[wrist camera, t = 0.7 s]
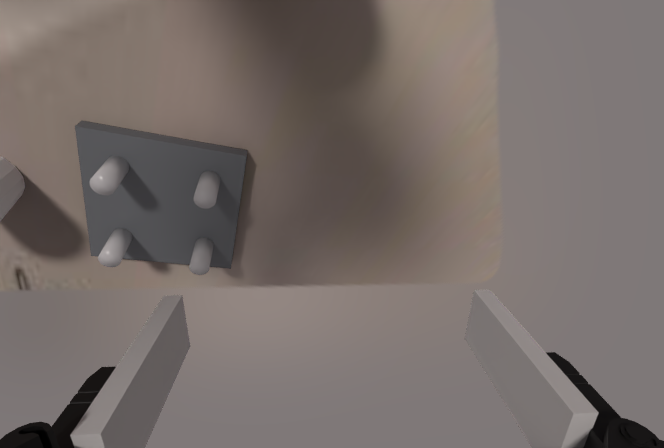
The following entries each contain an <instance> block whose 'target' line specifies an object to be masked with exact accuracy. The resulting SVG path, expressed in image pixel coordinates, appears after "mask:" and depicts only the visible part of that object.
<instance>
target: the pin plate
mask: <svg viewBox="0 0 664 448" xmlns="http://www.w3.org/2000/svg"><path fill="white" fill-rule="evenodd" d="M75 130H76V138H77V146H78V154H79V162H80V170H81V178H82V186H83V194H84V202H85V210H86V218H87V226H88V234H89V242H90V250H91V256H98V260H99V262H100V263H101V264H102V265H104V266H107V267H116V266H118V265H119V264H120V262H121V260H122V259H133V260H144V261H155V262H166V263H177V264H188V265H190V266H189V269H190V271H191V272H193V273H194V274H198V275H202V274H205V273H207V272H208V271H209V267H221V268H231V263H232V256H233V249H234V242H235V235H236V228H237V221H238V214H239V207H240V200H241V193H242V186H243V179H244V172H245V165H246V158H247V150H243V149H237V148H232V147H226V146H221V145H215V144H209V143H204V142H198V141H193V140H187V139H182V138H176V137H170V136H165V135H159V134H154V133H148V132H143V131H137V130H131V129H126V128H120V127H115V126H109V125H103V124H98V123H92V122H87V121H81V122H80V123H78V124H77V125H76V126H75Z"/></svg>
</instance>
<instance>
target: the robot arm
mask: <svg viewBox="0 0 664 448" xmlns="http://www.w3.org/2000/svg"><path fill="white" fill-rule="evenodd" d="M465 340H466V341H467V343H468V345H469V346H470V348H471V350H472V351H473V353H474V355H475V356H476V358H477V359H478V361H479V363H480V364H481V366H482V368H483V369H484V371H485V372H486V374H487V375H488V377H489V379H490V381H491V382H492V384H493V385H494V387H495V388H496V390H497V392H498V393H499V395H500V397H501V398H502V400H503V402H504V403H505V405H506V407H507V408H508V410H509V411H510V413H511V415H512V416H513V418H514V419H515V421H516V423H517V424H518V426H519V428H520V429H521V431H522V433H523V434H524V436H525V437H526V439H527V441H528V442H529V444H530V445H531V447H532V448H664V441H662V440H659V439H658V438H657V437H656V435H655V434H653V433H652V432H651V431H649V430H648V429H647V428H645V427H644V426H642V425H640V424H638V423H636V422H634V421H631V420H628V419H624V418H621V417H620V416H619V415H618V414H617V413H616V412H615V411H614V410H613V409H612V407H611V406H610V405H609V404H608V403H607V402H606V401H605V400H604V399H603V398H602V397H601V396H600V395H599V394H598V392H597V391H596V390H595V389H594V388H593V387H592V386H591V385H589V384H588V382H587V381H586V380H585V379H584V378H583V376H582V375H579V372H578V371H577V370H576V369H575V368H574V367H573V366H572V365H571V364H570V363H569V362H568V361H567V360H565V359H564V358H562V357H561V356H559V355H558V354H556V353H555V352H553V353H546V352H545V351H544V350H543V349H542V348H541V347H540V346H539V345H538V344H537V342H536V341H535V340H534V339H533V338H532V337H531V335H530V334H529V333H528V332H527V331H526V330H525V329H524V328H523V326H521V324H520V323H519V322H518V321H517V320H516V319H515V317H514V316H513V315H512V314H511V313H510V312H509V311H508V309H507V308H506V307H505V306H504V305H503V304H502V303H501V302H500V300H499V299H498V298H497V297H496V296H495V295H494V294H493V292H492V291H491V290H474V293H473V298H472V303H471V309H470V314H469V319H468V324H467V329H466V335H465ZM189 347H190V342H189V336H188V330H187V323H186V318H185V311H184V304H183V297H182V295H173V296H164V297H163V298H162V300H161V301H160V303H159V304H158V306H157V307H156V308H155V310H154V311H153V313H152V314H151V316H150V317H149V319H148V320H147V322H146V323H145V325H144V327H143V328H142V329H141V331H140V332H139V334H138V335H137V337H136V338H135V340H134V341H133V343H132V344H131V346H130V347H129V349H128V350H127V352H126V353H125V355H124V356H123V357H122V359H121V361H120V362H119V364H118V365H117V366H116V367H101V368H100V369H99V370H98V371H96V372H95V373H94V374H93V375H91V376H90V377H89V378H88V379H87V380H86V381H85V383H84V384H83V385H82V387H81V388H80V390H79V391H78V394H76V395H75V396H74V397H73V399H72V400H71V401H70V404H69V405H67V407H66V408H65V410H64V411H63V412H62V414H61V415H60V416H59V418H58V419H57V420H56V422H55V423H54V424H53V426H52V427H51V426H50V425H49V424H48V423H44V422H36V423H29V424H27V425H24V426H21V427H19V428H17V429H15V430H13V431H12V432H10V433H8V434H6V435H5V436H4V437H3V438H2V439H1V440H0V448H145V446H146V444H147V442H148V439H149V437H150V435H151V433H152V431H153V428H154V426H155V424H156V422H157V419H158V417H159V415H160V413H161V410H162V408H163V406H164V404H165V401H166V399H167V397H168V395H169V392H170V390H171V388H172V386H173V383H174V381H175V379H176V377H177V374H178V372H179V370H180V367H181V365H182V363H183V361H184V359H185V356H186V354H187V352H188V350H189Z"/></svg>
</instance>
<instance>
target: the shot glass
mask: <svg viewBox="0 0 664 448" xmlns="http://www.w3.org/2000/svg"><path fill="white" fill-rule="evenodd" d="M24 189H25V182H24V178H23V176H22V174H21V173H20V172H19V170H18V169H17V167H16V166H14V165H13V164H12V163H10V162H9V161H8V160H7V159H5V158H3V157H1V156H0V221H1V220H2V219H3V218H4V216H5V215H6V214H7V213H8V212H9V210H10V209H11V208H12V207H13V205H14V204H15V203H16V202H17V201H18V199H19V198H20V197H21V196H22V194H23V192H24Z"/></svg>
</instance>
